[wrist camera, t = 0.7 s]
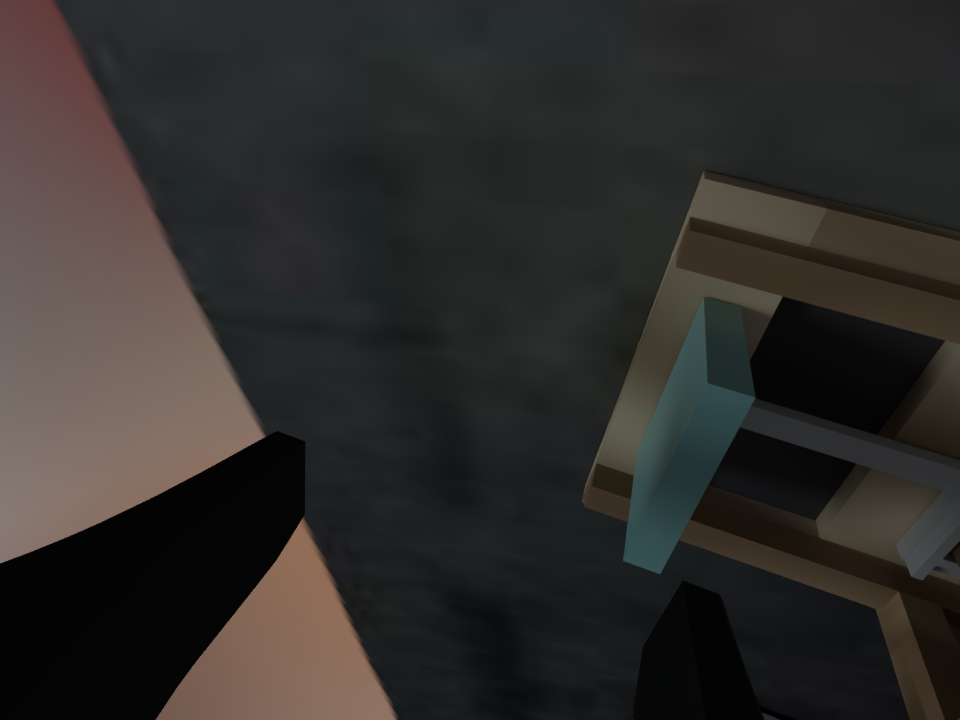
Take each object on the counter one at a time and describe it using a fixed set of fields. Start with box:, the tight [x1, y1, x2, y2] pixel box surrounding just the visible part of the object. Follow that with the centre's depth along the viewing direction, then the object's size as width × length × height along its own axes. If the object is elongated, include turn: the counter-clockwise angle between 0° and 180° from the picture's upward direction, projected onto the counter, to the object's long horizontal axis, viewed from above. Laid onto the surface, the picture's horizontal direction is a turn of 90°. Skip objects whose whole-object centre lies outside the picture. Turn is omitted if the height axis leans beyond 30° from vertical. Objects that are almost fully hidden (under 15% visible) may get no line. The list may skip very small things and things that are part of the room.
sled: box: [623, 297, 960, 580], centre depth 15 cm, size 6×14×5 cm, turn 80°
